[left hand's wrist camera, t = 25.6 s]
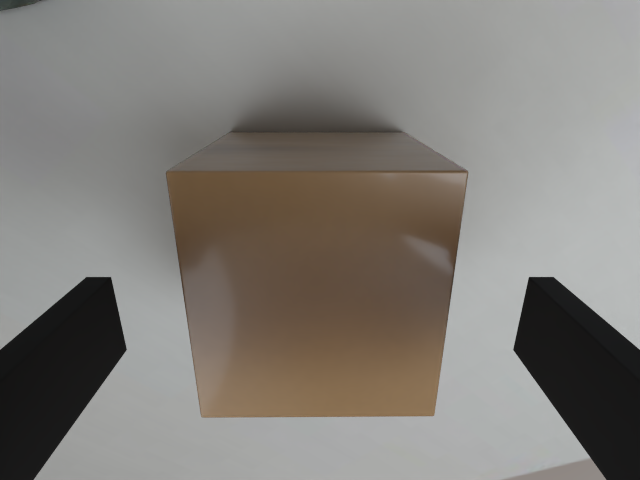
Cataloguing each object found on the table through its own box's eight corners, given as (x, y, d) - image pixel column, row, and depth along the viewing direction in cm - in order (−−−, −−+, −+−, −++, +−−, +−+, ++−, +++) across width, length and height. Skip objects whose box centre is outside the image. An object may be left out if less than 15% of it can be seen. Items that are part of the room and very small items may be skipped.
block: (392, 295, 23) (434, 417, 15) (242, 296, 23) (200, 418, 15) (405, 131, 20) (469, 170, 11) (228, 132, 19) (164, 171, 11)
